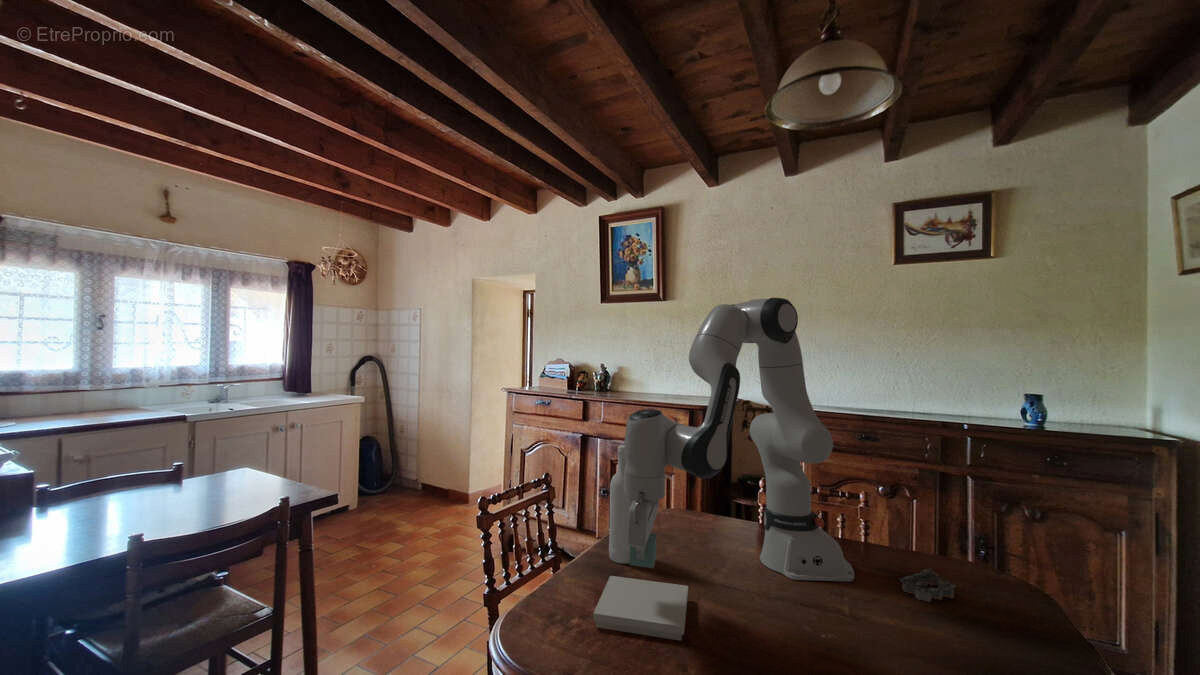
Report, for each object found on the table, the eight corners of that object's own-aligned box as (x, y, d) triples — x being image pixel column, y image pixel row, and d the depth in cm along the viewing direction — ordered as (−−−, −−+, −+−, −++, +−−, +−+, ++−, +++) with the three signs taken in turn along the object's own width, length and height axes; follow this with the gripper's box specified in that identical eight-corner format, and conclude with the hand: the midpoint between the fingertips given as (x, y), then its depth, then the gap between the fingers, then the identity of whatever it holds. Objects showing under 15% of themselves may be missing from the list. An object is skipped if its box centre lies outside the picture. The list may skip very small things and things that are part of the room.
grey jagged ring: (931, 584, 113) (931, 567, 113) (961, 601, 105) (961, 582, 106) (894, 588, 111) (895, 570, 111) (922, 605, 103) (922, 586, 103)
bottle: (644, 557, 125) (645, 446, 126) (626, 567, 119) (627, 450, 120) (621, 548, 130) (622, 441, 131) (602, 557, 124) (604, 445, 125)
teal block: (656, 557, 100) (656, 534, 101) (653, 568, 96) (653, 543, 96) (633, 554, 102) (633, 532, 102) (629, 565, 97) (629, 540, 97)
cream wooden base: (688, 599, 104) (688, 585, 104) (684, 642, 88) (684, 626, 88) (610, 588, 108) (610, 575, 108) (593, 628, 93) (593, 613, 93)
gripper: (653, 502, 88) (651, 576, 88) (663, 475, 108) (662, 535, 108) (620, 499, 90) (619, 571, 89) (637, 473, 110) (636, 532, 109)
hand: (643, 551), depth 99 cm, fingers closed on teal block, 5 cm apart
